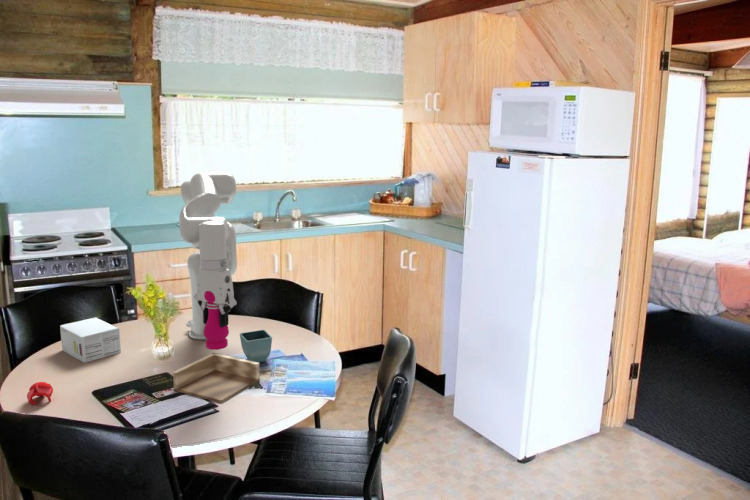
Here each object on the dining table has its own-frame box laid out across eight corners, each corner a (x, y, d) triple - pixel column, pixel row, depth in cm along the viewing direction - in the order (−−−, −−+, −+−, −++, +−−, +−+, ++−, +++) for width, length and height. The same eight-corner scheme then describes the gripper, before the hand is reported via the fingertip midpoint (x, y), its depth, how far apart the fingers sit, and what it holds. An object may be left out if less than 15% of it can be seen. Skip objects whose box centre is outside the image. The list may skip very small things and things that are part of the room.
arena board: (173, 390, 187) (173, 387, 187) (214, 369, 203) (214, 367, 203) (221, 402, 179) (221, 400, 179) (259, 380, 195) (259, 377, 195)
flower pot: (247, 367, 205) (246, 341, 204) (239, 358, 213) (239, 332, 211) (273, 362, 209) (272, 337, 208) (264, 354, 217) (264, 329, 215)
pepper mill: (231, 341, 190) (228, 277, 185) (227, 350, 182) (225, 283, 178) (206, 342, 189) (203, 277, 185) (202, 350, 182) (199, 284, 178)
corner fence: (173, 387, 187) (172, 372, 186) (214, 367, 203) (213, 352, 202) (221, 400, 179) (220, 383, 178) (259, 377, 195) (259, 362, 194)
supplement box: (61, 351, 218) (58, 325, 216) (98, 341, 227) (96, 316, 226) (83, 363, 207) (81, 336, 205) (121, 352, 217) (119, 327, 215)
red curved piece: (55, 393, 176) (56, 376, 180) (32, 391, 173) (33, 374, 177) (47, 410, 180) (48, 393, 184) (24, 408, 177) (25, 391, 181)
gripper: (245, 265, 180) (247, 325, 184) (199, 258, 188) (202, 316, 191) (228, 270, 174) (231, 332, 177) (181, 263, 181) (184, 323, 185)
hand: (216, 323), depth 184 cm, fingers closed on pepper mill, 5 cm apart
